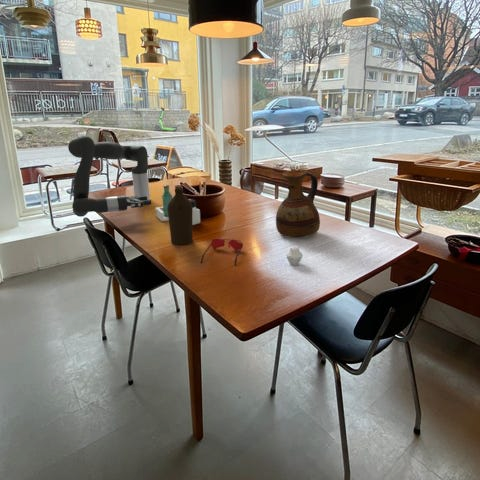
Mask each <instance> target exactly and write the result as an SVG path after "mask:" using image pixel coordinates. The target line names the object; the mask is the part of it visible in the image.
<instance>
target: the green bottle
mask: <svg viewBox="0 0 480 480" xmlns="http://www.w3.org/2000/svg"><path fill="white" fill-rule="evenodd" d="M162 188H163V192H162V193H163V194H162V195H161V198H162V200H161V201H162V207H163V210H164V216H165V217H168V210H167V207H168V203H169V202H170V200H171V199H172V198H173V194H171V192H170V184H169V185H168V184H164V185H163V186H162Z"/></svg>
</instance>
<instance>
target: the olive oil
mask: <svg viewBox="0 0 480 480" xmlns="http://www.w3.org/2000/svg"><path fill="white" fill-rule="evenodd" d="M188 199H189V198H187V196H185V195H184V188H183V185H181V184H177V185H175V186H174V196H172V199H171V200H170V202H169V203H168V207H167V210H168V217H169V220H168V225H169V234H170V242H171V243H172V245H176V246H185V245H189V244H191V243H192V242H193V240H194V238H193V225H192V204H191V202H190V201H189V200H188Z"/></svg>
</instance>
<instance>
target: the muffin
mask: <svg viewBox="0 0 480 480" xmlns="http://www.w3.org/2000/svg"><path fill="white" fill-rule="evenodd" d="M285 256H286V259H287V261H288V262H289V264H290V265H291V266H298V265H299V264H300V262H301V261H302V258H303V253H302V252H301V250H300V248H299V247H298V246H291V247H290V249H289V250H288V252H286V254H285Z"/></svg>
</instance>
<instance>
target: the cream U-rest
mask: <svg viewBox="0 0 480 480" xmlns="http://www.w3.org/2000/svg"><path fill="white" fill-rule="evenodd" d="M155 214H156V217H157V218H158V219H159V220H160V221H161V222H165V221H166V222H167V221H169V217H165V216H164V210H163V206H158V207H155Z"/></svg>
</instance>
